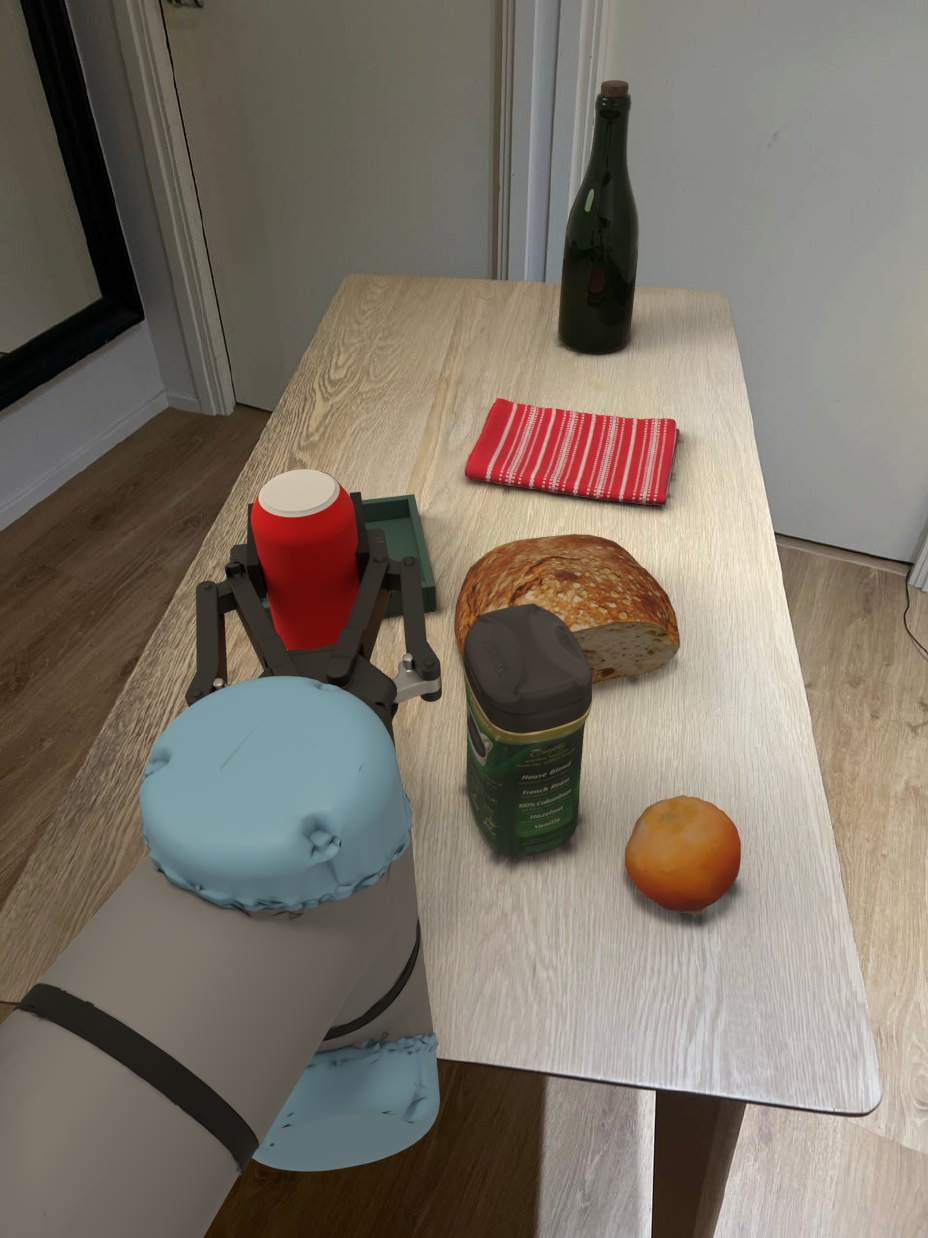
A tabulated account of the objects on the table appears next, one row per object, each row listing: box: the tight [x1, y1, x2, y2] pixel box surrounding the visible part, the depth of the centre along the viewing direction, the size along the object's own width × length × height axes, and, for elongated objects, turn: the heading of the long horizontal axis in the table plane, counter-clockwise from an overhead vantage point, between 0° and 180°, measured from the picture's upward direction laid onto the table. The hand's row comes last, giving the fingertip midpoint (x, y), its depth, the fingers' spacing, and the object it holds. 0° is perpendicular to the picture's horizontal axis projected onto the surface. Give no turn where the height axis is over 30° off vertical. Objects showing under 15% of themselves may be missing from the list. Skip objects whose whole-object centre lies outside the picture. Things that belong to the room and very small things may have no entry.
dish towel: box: [464, 397, 680, 506], centre depth 106 cm, size 17×24×3 cm
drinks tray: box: [260, 493, 437, 628], centre depth 91 cm, size 18×16×3 cm
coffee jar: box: [462, 603, 593, 859], centre depth 64 cm, size 10×8×19 cm
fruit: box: [624, 794, 742, 919], centre depth 64 cm, size 8×8×8 cm
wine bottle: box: [557, 79, 640, 354], centre depth 119 cm, size 10×10×33 cm
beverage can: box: [251, 468, 361, 650], centre depth 56 cm, size 6×6×12 cm
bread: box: [453, 533, 681, 685], centre depth 82 cm, size 20×18×10 cm
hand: (307, 514), depth 59 cm, fingers closed on beverage can, 6 cm apart
